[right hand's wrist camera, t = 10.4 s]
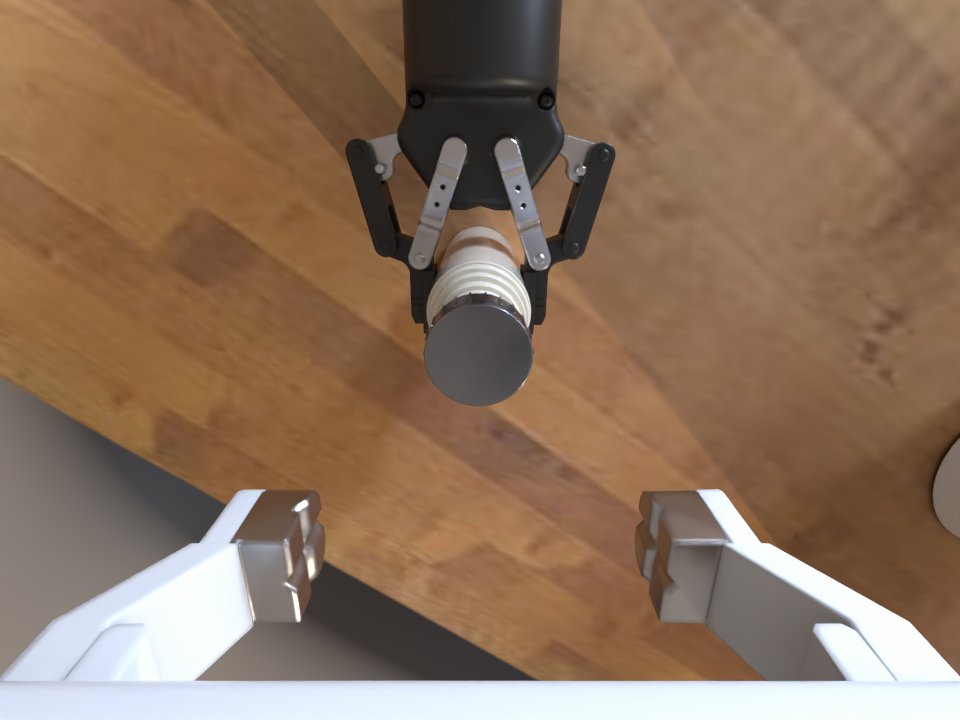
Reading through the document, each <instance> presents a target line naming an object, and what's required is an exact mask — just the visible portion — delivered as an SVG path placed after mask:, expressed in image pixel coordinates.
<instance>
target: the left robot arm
mask: <svg viewBox="0 0 960 720" xmlns="http://www.w3.org/2000/svg"><path fill="white" fill-rule="evenodd" d="M402 2H403V29H404V56H405V83H406V108H405V112H404V115H403V118H402V120H401V122H400V124H399V127H398V131H397V133H394V134H390V135H386V136H382V137H379V138H375V139H371V140H361V139H353V140H351V141H350V142H349V143H348V144H347V146H346V156H347V159H348V163H349V166H350V169H351V172H352V176H353V179H354V182H355V185H356V189H357V192H358V195H359V199H360V202H361V205H362V208H363V212H364V215H365V218H366V221H367V225H368V228H369V231H370V235H371V238H372V241H373V244H374V248H375V250H376V252H377V253H378V254H379V255H381V256H383V257H392V258H394V259H397V260H400V261H402V262H404V263H405V264H406V265H407V266H408V268H409V271H410V283H411V309H412V317H413V319H414V321H415V323H424V333H427V331H428V328H429V325H428V321H427V302H428V298H429V295H430V292H431V289H432V286H433V284H434V281H435V278H436V275H437V273H438V263H434V252H435V249H436V247H437V244H438V241H439V238H440V235H441V232H442V229H443V226H444V223H445V221H446V218H447V215H448V212H449V209H450V210H466V209H470V208H474V207H478V206H483V207H486V208H490V209H493V210H510V209H511V212H512V216H513V219H514V222H515V225H516V227H517V230H518V234H519V237H520V240H521V243H522V246H523V249H524V252H525V258H524V265H521V266H520V274H521V276H522V279H523V282H524V285H525V288H526V291H527V294H528V296H529V300H530V305H531V319H530V324H529V330H530V333H531V335H532V334H533V325H542V323H543V321H544V318H545V315H546V298H547V280H548V272H549V270H550V268H551V267H552V266H553V265H554V264H556V263H558V262H561V261H564V260H567V259H578V258H580V257H581V256H582V255H583V253H584V251H585V248H586V245H587V242H588V239H589V236H590V233H591V230H592V226H593V223H594V220H595V217H596V214H597V211H598V208H599V205H600V202H601V199H602V196H603V193H604V190H605V187H606V184H607V181H608V177H609V174H610V171H611V168H612V165H613V162H614V159H615V149H614V147H613V146H612V145H611V144H609V143H606V142H597V143H593V142H589V141H586V140H582V139H579V138H575V137H571V136H568V135H564V129H563V126H562V124H561V122H560V120H559V117H558V114H557V108H556V97H557V79H558V62H559V44H560V27H561V8H562V0H402ZM402 152H403V154H404V155H405V156H406V158H407V159H408V161H409V162H410V164H411V165H412V166H413V168H414V169H415V171H416V172H417V173H418V175H419V176H420V178H421V179H422V180H423V182H424V183H425V185H426V186H427V187H428V189H429V192H428V195H427V198H426V201H425V204H424V207H423V210H422V213H421V216H420V220H419V224H418V228H417V231H416V234H415V237H411V236H408V235H406V234H403V233H401V229H400V226H399V222H398V219H397V215H396V212H395V208H394V205H393V201H392V198H391V194H390V191H389V187H388V183H387V180H388V179H391V178H392V177H393V176H394V174H395V171H396V166H395V161H396V158H397V156H398V155H399V154H400V153H402ZM558 154H560V155H561V156H563V158H564V159H565V162H566V168H565V174H566V176H567V178H568V179H569V180H570V181H572V182H574V184H573V187H572V190H571V194H570V197H569V200H568V204H567V207H566V210H565V213H564V217H563V220H562V223H561V226H560V230H559V233H558V235H555V236H552V237H550V238H547V239H545V236H544V233H543V229H542V226H541V221H540V217H539V214H538V210H537V207H536V204H535V200H534V197H533V194H532V189H533V188H534V187H535V185H536V184H537V183H538V181H539V180H540V179H541V177H542V176H543V175H544V173H545V172H546V171H547V169H548V168H549V167H550V165H551V164H552V162H553V161H554V160H555V158H556V157H557V156H558Z"/></svg>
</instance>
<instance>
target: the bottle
mask: <svg viewBox="0 0 960 720" xmlns="http://www.w3.org/2000/svg"><path fill="white" fill-rule="evenodd" d="M469 292H471V293H484V292H487V294H491V295H494V296H497V297H499V296H501V298H502V299H504V300H506V301H507V302H509V303H510V304H512V303H513V304H514V307H515V308H516V309H517V310H518V311H519V313H520V314H521V315H522V314H523V316H524V319H525V323H526V326H527V327H529V324H530V319H531V305H530V300H529V296H528V294H527V291H526V288H525V285H524V282H523V279H522V276H521V274H520V271H519V268H518V265H517V262H516V259H515V256H514V254H513V251H512V248H511V246H510V244H509V243H508V241H507V240H506V239H505V238H504V237H503V236H502V235H501V234H500V233H498V232H497V231H495V230H493V229H490V228H487V227H472V228H468V229H465V230H463V231H461V232H459V233H458V234H457V235H456V236H455V237H454V238H453V239H452V240H451V241H450V242H449V244H448V246H447V248H446V250H445V253H444V256H443V259H442V262H441V264H440V267H439V270H438V273H437V275H436V278H435V281H434V284H433V286H432V289H431V292H430V295H429V298H428V302H427V321H428V325H429V329H430V326H431V322H432V319H433V316H434V315H435V316H436V314H437V313H438V312H439V311H440V309H441V308H442V305H443V304H444V305H446V304H447V303H449V302H450V301H452V300H453V299H454V298H455V297H456V296H457V297H460V296H463V295H467V294H469Z"/></svg>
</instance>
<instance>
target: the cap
mask: <svg viewBox="0 0 960 720" xmlns="http://www.w3.org/2000/svg"><path fill="white" fill-rule="evenodd" d="M531 339H532V337H531V333H530V330H529V327H527V326H526V323H525V319H524V316H523V314H522V315H521V314H520V313H519V311H518V310H517V309H516V308H515V307H514V304H513V303H512V304H510V303H509V302H507V301H506V300H504V299H502V298H501V296H499V297H497V296H494V295H491V294H487V292H484V293H471V292H469V294H467V295H463V296H460V297H457V296H456V297H455V298H454V299H453V300H452V301H450V302H449V303H447V304H446V305H444V304H443V305H442V308H441V309H440V311H439V312H438V313H437V314H436V316H435V315H434V316H433V319H432V322H431V326H430V329H429V328H428V331H427V334H426V337H425V341H426V344H425V349H424V353H423V355H424V361H425V367H426V370H427V373H428V375H429V377H430V379H431V381H432V382H433V384H434V385H435V386H436V387H437V389H438V390H439V391H441V392H442V393H443V394H444V395H445V396H447V397H448V398H450V399H452V400H454V401H456V402H459V403H461V404H465V405H470V406H487V405H492V404H496V403H499V402H501V401H503V400H505V399H507V398H509V397H510V396H512V395H513V394H514V393H516V392H517V391H518V390H519V389H520V388H521V387H522V385H523V384H524V383H525V381H526V379H527V378H528V376H529V373H530V371H531V367H532V363H533V354H534V351H533V347H532V343H531Z"/></svg>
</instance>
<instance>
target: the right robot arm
mask: <svg viewBox="0 0 960 720" xmlns="http://www.w3.org/2000/svg"><path fill="white" fill-rule="evenodd" d="M933 505H934V509H935V512H936V515H937V517H938V519H939V520H940V522H941V523H942V525H943V526H944V527H945V528H946V529H947V530H948V531H949V532H951V533H952V534H954V535H955V536H957V537H959V538H960V438H959V439H958V440H957V441H956V442H955V443H954V445H953V446H952V447H951V449H950V450H949V451H948V453H947V454H946V456H945V458H944V459H943V461H942V463H941V465H940V467H939V469H938V472H937V474H936V478H935V481H934V486H933ZM320 510H321V503H320V497H319V494H318V493H317V492H316V491H307V490H240V491H238V492H237V493H236V494H235V495H234V496H233V498H232V499H231V500H230V502H229V503H228V504H227V506H226V507H225V509H224V510H223V511H222V513H221V514H220V515H219V517H218V518H217V519H216V521H215V522H214V524H213V525H212V526H211V528H210V529H209V530H208V532H207V533H206V534H205V536H204V537H203V538H202V540H201V541H200V543H191V544H189V545H187V546H186V547H184V548H182V549H180V550H178V551H177V552H175V553H173V554H171V555H169V556H168V557H166V558H164V559H162V560H160V561H159V562H157V563H155V564H153V565H152V566H150V567H148V568H146V569H144V570H143V571H141V572H139V573H137V574H135V575H134V576H132V577H130V578H128V579H126V580H125V581H123V582H121V583H119V584H117V585H116V586H114V587H112V588H110V589H108V590H107V591H105V592H103V593H101V594H100V595H98V596H96V597H94V598H92V599H91V600H89V601H87V602H85V603H83V604H82V605H80V606H78V607H76V608H75V609H73V610H71V611H69V612H67V613H65V614H64V615H62V616H60V617H58V618H57V619H55V620H53V621H51V622H50V624H49V625H48V626H47V627H46V628H45V629H44V630H43V631H42V632H41V633H40V634H39V635H38V637H37V638H36V639H35V640H34V641H33V642H32V643H31V644H30V645H29V646H28V647H27V648H26V650H25V651H24V652H23V653H22V654H21V655H20V656H19V657H18V658H17V659H16V660H15V661H14V662H13V663H12V665H11V666H10V667H9V668H8V669H7V670H6V671H5V672H4V673H3V674H2V675H1V676H0V720H960V676H959V675H958V674H957V673H956V672H955V671H954V670H953V669H952V668H951V667H950V666H949V664H948V663H947V662H946V661H945V660H944V659H943V658H942V657H941V656H940V655H939V654H938V653H937V651H936V650H935V649H934V648H933V647H932V646H931V645H930V644H929V643H928V642H927V641H926V640H925V638H924V637H923V636H922V635H921V634H920V633H919V632H918V631H917V630H916V629H915V628H914V626H913V625H912V624H911V623H910V622H908V621H907V620H905V619H903V618H901V617H899V616H898V615H896V614H894V613H892V612H891V611H889V610H887V609H885V608H883V607H882V606H880V605H878V604H876V603H874V602H873V601H871V600H869V599H867V598H866V597H864V596H862V595H860V594H858V593H857V592H855V591H853V590H851V589H849V588H848V587H846V586H844V585H842V584H841V583H839V582H837V581H835V580H833V579H832V578H830V577H828V576H826V575H824V574H823V573H821V572H819V571H817V570H816V569H814V568H812V567H810V566H808V565H807V564H805V563H803V562H801V561H799V560H798V559H796V558H794V557H792V556H791V555H789V554H787V553H785V552H783V551H782V550H780V549H778V548H776V547H774V546H773V545H771V544H769V543H760V541H759V540H758V539H757V537H756V536H755V534H754V533H753V532H752V530H751V529H750V528H749V526H748V525H747V524H746V522H745V521H744V520H743V518H742V517H741V516H740V514H739V513H738V511H737V510H736V509H735V507H734V506H733V505H732V503H731V502H730V501H729V499H728V498H727V497H726V495H725V494H724V493H723V492H722V491H720V490H718V489H710V490H693V491H643V492H642V495H641V497H640V502H639V510H640V513H641V515H642V517H643V520H642V521H641V522H640V523H639V524H638V525H637V526H636V533H635V552H636V559H637V563H638V567H639V569H640V572H641V575H642V576H643V577H644V578H646V579H647V580H648V581H650V588H649V595H650V598H651V600H652V603H653V606H654V608H655V611H656V613H657V616H658V618H659V621H660V622H676V623H707V624H706V626H707V627H708V628H709V629H710V630H712V631H713V632H714V633H715V634H716V635H717V636H718V637H719V638H720V639H721V640H722V641H723V642H724V643H726V644H727V645H728V646H729V647H730V648H731V649H732V650H733V651H734V652H735V653H736V654H737V655H738V656H740V657H741V658H742V659H743V660H744V661H745V662H746V663H747V664H748V665H749V666H750V667H751V668H752V669H754V670H755V671H756V672H757V673H758V674H759V675H760V676H761V677H762V678H763V679H764V680H765V681H195V680H196V679H197V678H198V677H199V676H200V675H201V674H202V673H203V672H204V671H205V670H207V669H208V668H209V667H210V666H211V665H212V664H213V663H214V662H215V661H216V660H217V659H218V658H220V657H221V656H222V655H223V654H224V653H225V652H226V651H227V650H228V649H229V648H230V647H231V646H233V645H234V644H235V643H236V642H237V641H238V640H239V639H240V638H241V637H242V636H243V635H244V634H245V633H247V632H248V631H249V630H250V629H251V628H252V627H253V626H254V625H253V623H283V622H300V621H301V618H302V616H303V613H304V611H305V608H306V606H307V603H308V600H309V598H310V595H311V588H310V581H312V580H313V579H314V578H316V577H317V576H318V575H319V572H320V569H321V566H322V563H323V558H324V552H325V532H324V526H323V525H322V524H321V523H320V522H319V521H318V520H317V517H318V515H319V513H320Z"/></svg>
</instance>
